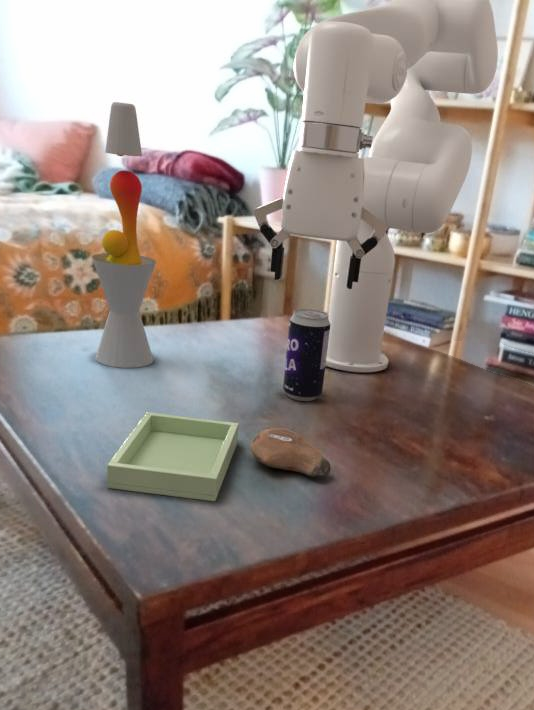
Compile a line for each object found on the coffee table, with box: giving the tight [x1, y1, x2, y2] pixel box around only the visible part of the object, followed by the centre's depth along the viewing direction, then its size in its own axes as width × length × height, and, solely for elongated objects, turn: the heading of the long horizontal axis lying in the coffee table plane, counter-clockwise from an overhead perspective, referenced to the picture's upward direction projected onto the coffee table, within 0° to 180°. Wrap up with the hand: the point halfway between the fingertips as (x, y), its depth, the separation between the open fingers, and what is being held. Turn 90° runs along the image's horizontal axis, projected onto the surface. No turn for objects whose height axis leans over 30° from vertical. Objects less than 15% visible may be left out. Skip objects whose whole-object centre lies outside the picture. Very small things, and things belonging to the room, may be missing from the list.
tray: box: [106, 411, 239, 502], centre depth 77 cm, size 15×11×3 cm
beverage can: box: [282, 308, 330, 402], centre depth 99 cm, size 6×6×12 cm
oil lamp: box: [249, 427, 332, 478], centre depth 79 cm, size 9×4×8 cm
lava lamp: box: [91, 101, 157, 369], centre depth 101 cm, size 9×9×35 cm
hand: (313, 282), depth 94 cm, fingers open, 9 cm apart
